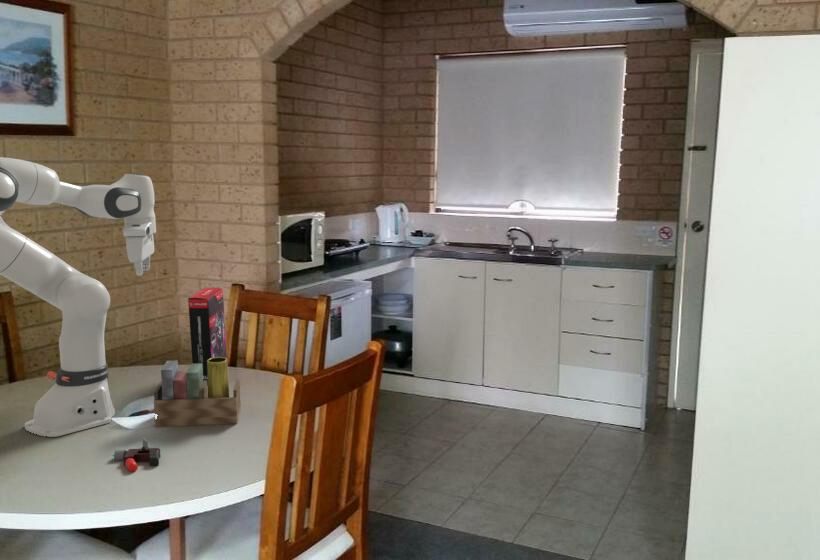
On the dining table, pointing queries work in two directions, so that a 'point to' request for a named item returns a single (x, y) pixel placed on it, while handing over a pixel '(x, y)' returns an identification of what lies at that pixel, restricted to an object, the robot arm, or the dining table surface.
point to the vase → (218, 377)
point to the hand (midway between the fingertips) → (143, 272)
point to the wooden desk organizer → (191, 399)
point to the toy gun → (138, 456)
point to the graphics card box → (207, 326)
